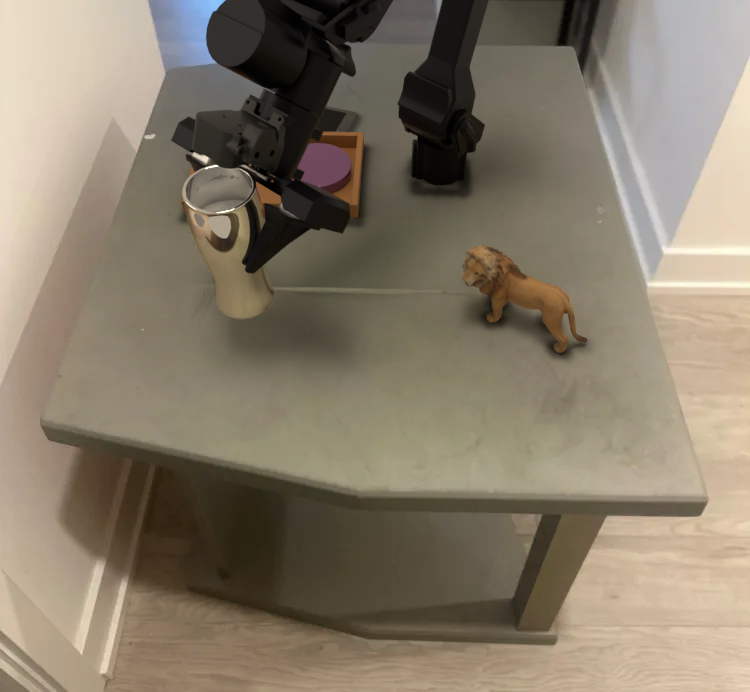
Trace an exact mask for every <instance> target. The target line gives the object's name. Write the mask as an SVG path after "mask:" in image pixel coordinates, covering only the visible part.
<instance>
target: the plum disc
mask: <svg viewBox="0 0 750 692" xmlns="http://www.w3.org/2000/svg"><path fill="white" fill-rule="evenodd" d="M298 168H299V169H300V170H302V171H304V175H303V177H302V179H301V181H304V182H307V183H310V184H312V185H315V186H318V187H321V188H323V189H325V190H327V191H328V192H330V193H334V192H336V191H338V190H340V189H342V188H343V187H344V186H345V185H346V184H347V183H348V182H349V180H350V178H351V174H352V170H351V159H350V157H349V156H348V154H347V153H346V152H345V151H344V150H342V149H341V148H339V147H337V146H334V145H331V144H325V143H311V144H308V146H307V148H306V151H305V153H304V155H303V157H302V159H301V161H300V164H299V166H298ZM292 180H294V179H292Z"/></svg>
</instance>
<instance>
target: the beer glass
mask: <svg viewBox="0 0 750 692" xmlns="http://www.w3.org/2000/svg"><path fill="white" fill-rule="evenodd" d="M188 177H189V176H188ZM188 177H187V179H186V180H185V181H184V183H183V186H182V188H181V189H182V191H181V195H182V197H183V199H184V203H185V209H186V214H185V215H186V220H187V223H188V224H187V225H188V228H189V231H190V234H191V237H192V240H193V243H194V244H195V247H196V249H197V251H198V254H199V255H200V257H201V258H202V261H203V262H204V264H205V266H206V267H207V269H208V271H209V273H210V274H211V277H212V279H213V282H214V295H215V297H214V298H215V304H216V306H217V308H218V310H219V311H220V312H221V313H222V314H224V315H225V316H227V317H229V318H231V319H236V320H248V319H253V318H255V317H258V316H260V315H261V314H262V315H263V313H265V312H266V311H267V310H268V309H269V308H270V307H271V305H272V304H273V302H274V298H275V290H274V286H273V284H272V281H271V280H270V278H269V275H268V273H267V268H266V264H264V265H263V266H262V267H261V268H260V269H259V270H257V271H256V272H255V273H253V274H250V273H247V272H245V267H246V264H247V261H248V258H249V256H250V253H251V251H252V249H253V247H254V245H255V242H256V240H257V238H258V236H259V234H260V232H261V229H262V227H263V225H264V223H265V216H264V211H263V207H262V203H261V199H260V196H259V192H258V189H257V186H256V180H255V178H254V176H253V175H252V174H251V173H250V172H249V171H248V170H247V169H245V168H243V167H241V166H238V167H237V168H234V169H227V168H222V167H219V166H217V165H216V164H215V165H210V166H207V167H204V168H202V169H200V170H198V171H196V172H195V173H193V174H192V175H191V176H190V177H189V178H188Z"/></svg>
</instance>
